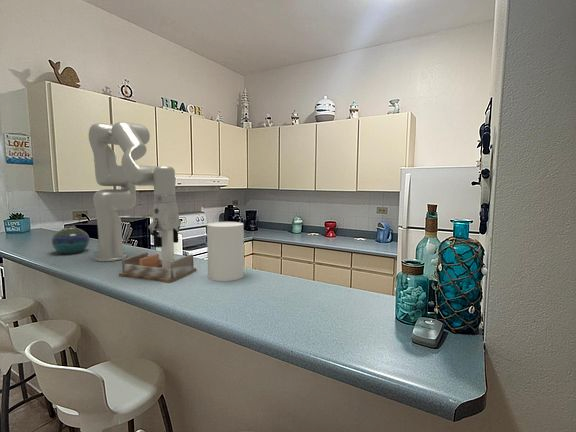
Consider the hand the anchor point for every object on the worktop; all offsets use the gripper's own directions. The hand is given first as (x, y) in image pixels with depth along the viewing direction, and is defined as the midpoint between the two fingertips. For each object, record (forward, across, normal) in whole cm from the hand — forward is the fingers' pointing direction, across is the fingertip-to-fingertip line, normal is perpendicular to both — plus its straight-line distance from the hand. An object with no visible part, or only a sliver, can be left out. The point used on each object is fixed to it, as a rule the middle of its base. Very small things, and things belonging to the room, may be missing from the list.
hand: (166, 244), depth 121 cm
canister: (+12, +6, -22) cm, 26 cm away
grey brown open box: (+12, 0, +4) cm, 12 cm away
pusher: (+10, 0, +8) cm, 13 cm away
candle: (+11, +1, 0) cm, 11 cm away
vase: (+12, +15, +68) cm, 71 cm away
